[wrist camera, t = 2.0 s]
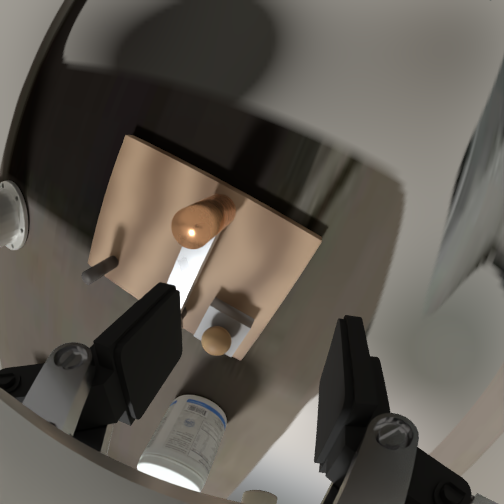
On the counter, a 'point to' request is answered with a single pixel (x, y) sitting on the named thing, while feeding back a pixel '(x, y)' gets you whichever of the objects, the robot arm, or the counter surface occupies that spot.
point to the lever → (197, 239)
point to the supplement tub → (185, 442)
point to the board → (220, 259)
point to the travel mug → (258, 497)
